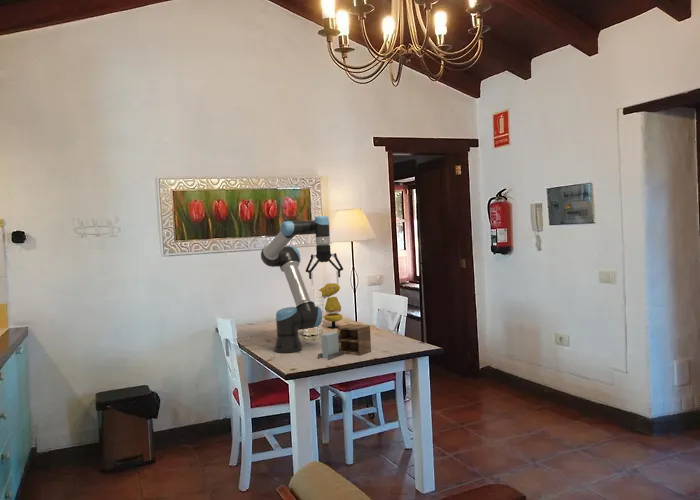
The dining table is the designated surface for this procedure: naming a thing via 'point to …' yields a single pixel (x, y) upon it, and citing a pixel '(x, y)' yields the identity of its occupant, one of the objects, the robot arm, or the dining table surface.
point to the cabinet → (352, 340)
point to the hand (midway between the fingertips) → (325, 284)
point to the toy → (331, 303)
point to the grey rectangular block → (329, 344)
